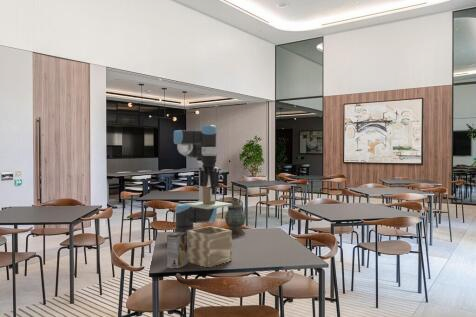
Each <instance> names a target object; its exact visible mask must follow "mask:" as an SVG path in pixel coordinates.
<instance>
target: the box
mask: <svg viewBox="0 0 476 317" xmlns="http://www.w3.org/2000/svg"><path fill="white" fill-rule="evenodd" d="M207 232H213V233H214V234H209V235H207V234H203V233H207ZM232 237H233V236H232V230H229V229H228V228H227V229H226V228H222V227H217V226H216V227H215V226H213V225H209V226H205V227H199V228H194V229H193V230H188V231H187V263H189V264H193V265H196V266H199V265H200V266H199V267H202V266H204V267H203V268H205V267H211V268H213V267H212V266H214V267H216V266H215V265H218V266H220V265H219V264H221V265H223V264H222V263H224V264H227V263H226V262H228V263H230V262H229V261H231V262H232V261H233V260H232V259H233V254H232V253H233V250H232V249H233V246H232V244H233V239H232Z"/></svg>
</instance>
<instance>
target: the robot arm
mask: <svg viewBox="0 0 476 317" xmlns="http://www.w3.org/2000/svg"><path fill="white" fill-rule="evenodd" d="M173 144H175V145H177V146H176V148H177V151H178V153H179V154H180V155H182V156H183V157H187V158H190V159H196V162H197V163H198V201H197V202H203V186H211V187H210V201H216V191H217V190H216V188H219V186H220V184H219V183H220V182H219V180H220V178H219V176H220V175H219V174H220V173H219V172H220V167H217V166H216V163H217V158H218V153H217V126H216V125H214V124H211V125H210V124H208V125H207V124H203V125H202V126H201V129H200V130H199V129H198V130H197V129H195V130H193V129H192V130H191V129H190V130H189V129H188V130H187V129H186V130H185V129H178V130H174V131H173ZM188 203H189V202H185V203H180V204H177V205H176V206H175V211H174V214H175V222H174V224H175V227H174V231H173V233H175V232H186V233H187V231H188V230H193V229H195V228H194V224H209V223H214V222H215V221H216V218H217V211H218V210H217V209H218V208H213V209H203V208H197V207H191V206H186V204H188Z"/></svg>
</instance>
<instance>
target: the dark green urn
mask: <svg viewBox="0 0 476 317" xmlns="http://www.w3.org/2000/svg"><path fill="white" fill-rule="evenodd" d="M229 203H232V206H227V211H226V213H225V216H224V219H225V223H226V225H227V227H229V229H228V230H232V237H234V236H235V237H237V236H244V235H245V234H246V232H245V231H244V230H243V229H242V228H241V227H243V225H244V224H245V222H246V213H245V212H244V210H243V208H244V206H243V205H242V204H241V202H240V201H239V200H238V198H237V197H234V198H233V199H232V200H230V201H229Z"/></svg>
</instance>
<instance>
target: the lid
mask: <svg viewBox="0 0 476 317" xmlns="http://www.w3.org/2000/svg"><path fill="white" fill-rule="evenodd" d="M210 187H211V186H203V202H198V201H196V202H187V203H188V204H186V206H191V207H197V208H203V209H213V208H217V209H219V208H224V207H228V206H232V203H231V202H223V201H216V200H215V201H210Z"/></svg>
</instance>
